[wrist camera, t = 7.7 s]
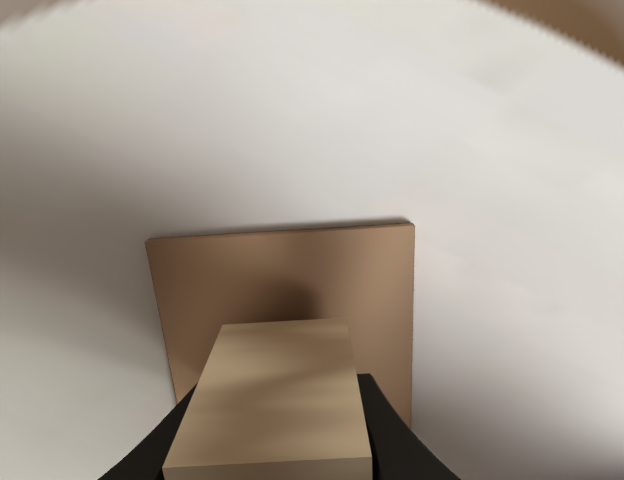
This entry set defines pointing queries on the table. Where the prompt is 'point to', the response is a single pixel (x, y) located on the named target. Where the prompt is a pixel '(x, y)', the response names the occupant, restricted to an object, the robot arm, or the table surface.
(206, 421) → the birch block
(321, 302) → the walnut pad
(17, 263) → the table surface
